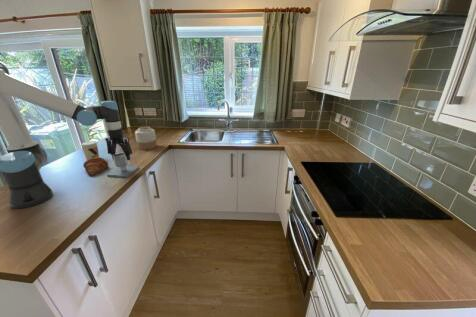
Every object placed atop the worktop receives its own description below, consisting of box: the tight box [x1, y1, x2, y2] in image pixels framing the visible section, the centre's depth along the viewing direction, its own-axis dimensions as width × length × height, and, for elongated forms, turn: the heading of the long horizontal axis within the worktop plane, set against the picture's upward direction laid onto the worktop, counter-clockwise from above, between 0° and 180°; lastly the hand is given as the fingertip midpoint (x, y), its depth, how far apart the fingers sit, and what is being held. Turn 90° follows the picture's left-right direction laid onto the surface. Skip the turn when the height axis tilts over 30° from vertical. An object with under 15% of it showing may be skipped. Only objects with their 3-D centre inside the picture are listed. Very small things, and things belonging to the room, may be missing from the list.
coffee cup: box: [80, 140, 100, 161], centre depth 148 cm, size 9×9×12 cm
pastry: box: [83, 157, 109, 177], centre depth 132 cm, size 17×15×8 cm
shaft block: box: [106, 165, 140, 179], centre depth 128 cm, size 14×12×8 cm
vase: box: [134, 126, 158, 151], centre depth 173 cm, size 15×15×17 cm
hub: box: [114, 151, 127, 168], centre depth 127 cm, size 7×7×7 cm
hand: (122, 164), depth 128 cm, fingers closed on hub, 7 cm apart
